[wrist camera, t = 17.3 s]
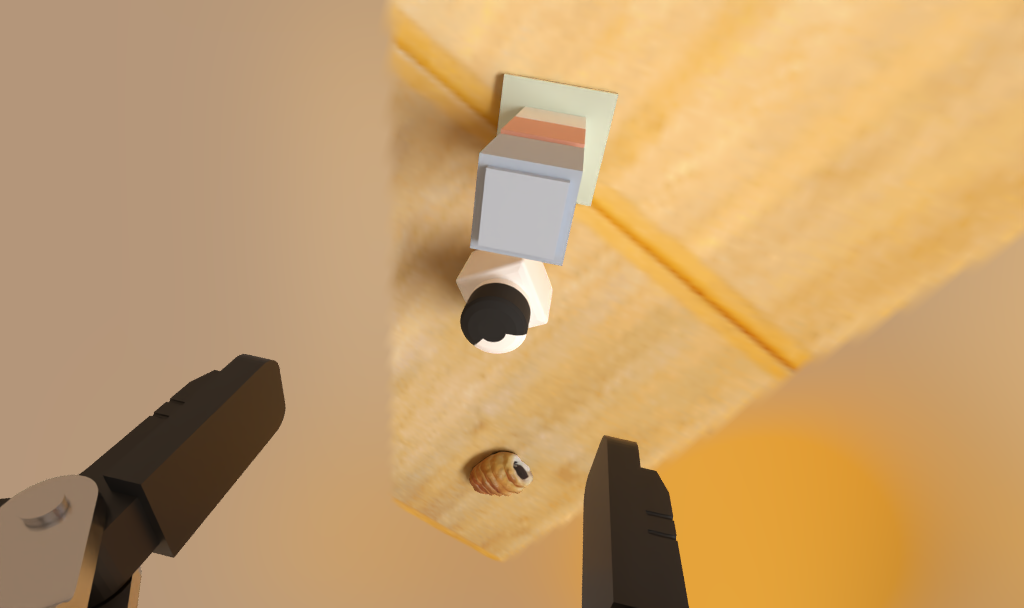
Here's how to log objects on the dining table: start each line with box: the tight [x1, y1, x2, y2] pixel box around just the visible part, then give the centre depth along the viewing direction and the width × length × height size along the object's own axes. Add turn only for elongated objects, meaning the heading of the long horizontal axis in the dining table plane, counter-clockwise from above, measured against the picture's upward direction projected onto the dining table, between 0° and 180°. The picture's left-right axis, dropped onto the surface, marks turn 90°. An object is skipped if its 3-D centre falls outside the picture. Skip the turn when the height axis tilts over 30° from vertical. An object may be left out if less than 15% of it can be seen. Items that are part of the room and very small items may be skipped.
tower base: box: [497, 73, 618, 206], centre depth 38 cm, size 10×10×7 cm
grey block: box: [470, 133, 584, 266], centre depth 27 cm, size 6×6×7 cm
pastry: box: [470, 452, 533, 496], centre depth 64 cm, size 9×7×4 cm
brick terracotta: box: [501, 116, 586, 148], centre depth 32 cm, size 6×6×7 cm
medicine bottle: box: [456, 250, 553, 353], centre depth 44 cm, size 7×7×12 cm
